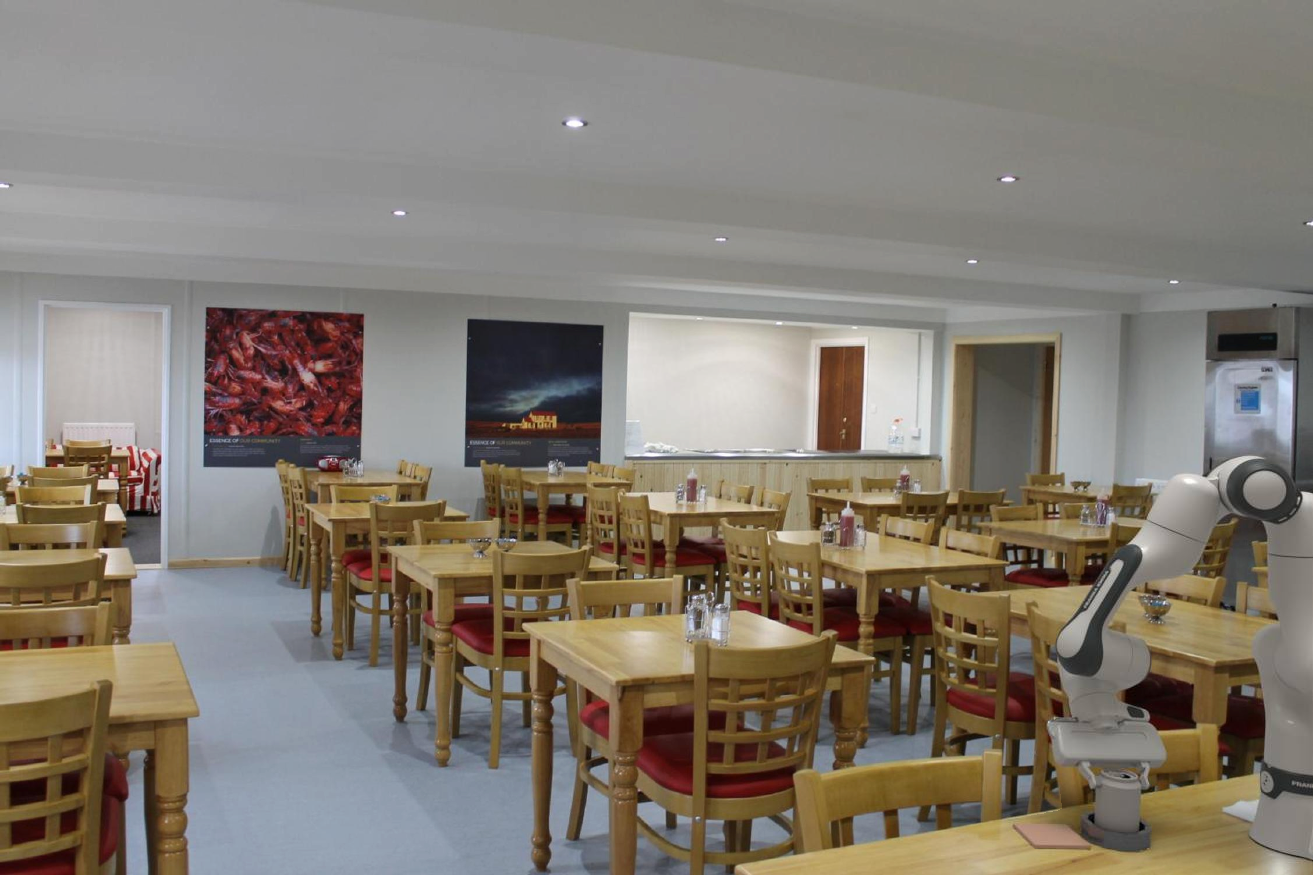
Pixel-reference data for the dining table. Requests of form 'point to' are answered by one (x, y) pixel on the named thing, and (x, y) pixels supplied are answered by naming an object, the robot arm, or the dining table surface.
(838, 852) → the dining table surface
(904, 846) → the dining table surface
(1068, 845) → the tile
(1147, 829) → the ring
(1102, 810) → the can
